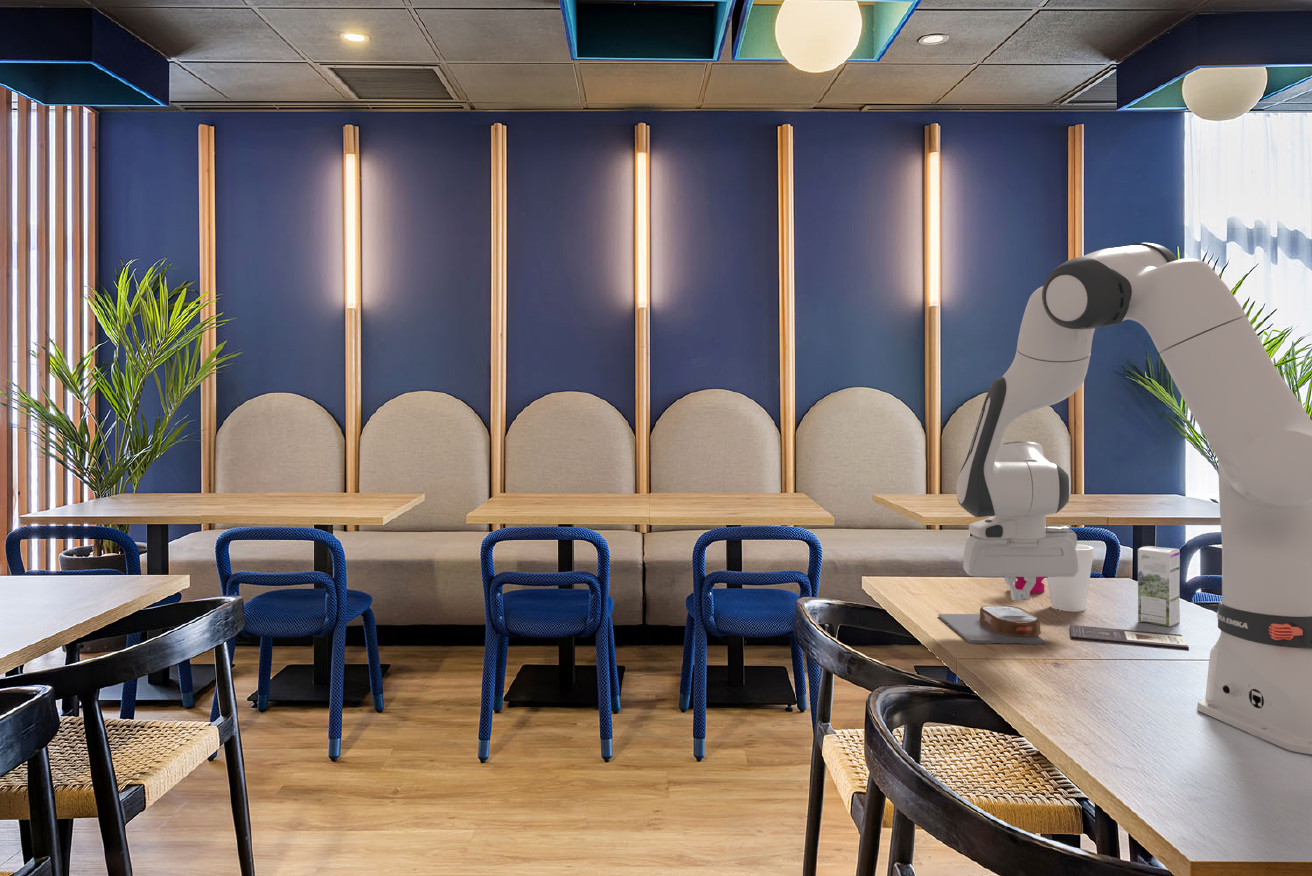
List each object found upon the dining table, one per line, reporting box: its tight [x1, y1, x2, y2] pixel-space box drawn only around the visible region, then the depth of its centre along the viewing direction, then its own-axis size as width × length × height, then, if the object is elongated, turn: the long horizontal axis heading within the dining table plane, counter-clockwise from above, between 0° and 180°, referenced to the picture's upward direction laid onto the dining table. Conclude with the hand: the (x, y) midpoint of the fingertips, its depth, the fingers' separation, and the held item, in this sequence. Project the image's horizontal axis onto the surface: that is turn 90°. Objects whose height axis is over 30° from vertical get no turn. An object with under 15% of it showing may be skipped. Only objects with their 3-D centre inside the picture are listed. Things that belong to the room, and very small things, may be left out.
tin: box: [979, 604, 1042, 637], centre depth 155 cm, size 15×3×8 cm
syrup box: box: [1137, 545, 1181, 627], centre depth 160 cm, size 6×6×14 cm
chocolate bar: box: [1069, 624, 1190, 651], centre depth 148 cm, size 9×1×18 cm
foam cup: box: [1046, 543, 1095, 613], centre depth 172 cm, size 10×9×13 cm
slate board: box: [937, 613, 1046, 645], centre depth 156 cm, size 20×13×1 cm, turn 177°
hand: (1020, 599), depth 155 cm, fingers closed
